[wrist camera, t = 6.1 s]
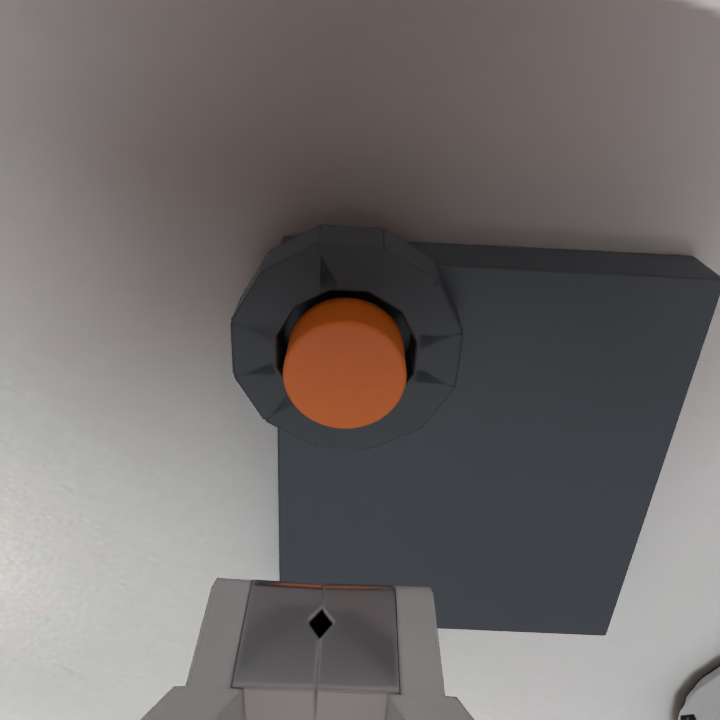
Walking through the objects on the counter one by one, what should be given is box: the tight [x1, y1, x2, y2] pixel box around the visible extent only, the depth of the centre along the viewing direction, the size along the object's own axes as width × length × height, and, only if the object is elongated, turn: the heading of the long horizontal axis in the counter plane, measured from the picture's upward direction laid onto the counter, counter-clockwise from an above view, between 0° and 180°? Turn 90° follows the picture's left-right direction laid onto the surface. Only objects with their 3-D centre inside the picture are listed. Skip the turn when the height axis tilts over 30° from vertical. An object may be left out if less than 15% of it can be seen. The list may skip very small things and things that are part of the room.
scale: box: [231, 225, 720, 635], centre depth 20 cm, size 15×13×4 cm
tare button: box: [283, 297, 407, 429], centre depth 16 cm, size 3×3×2 cm
